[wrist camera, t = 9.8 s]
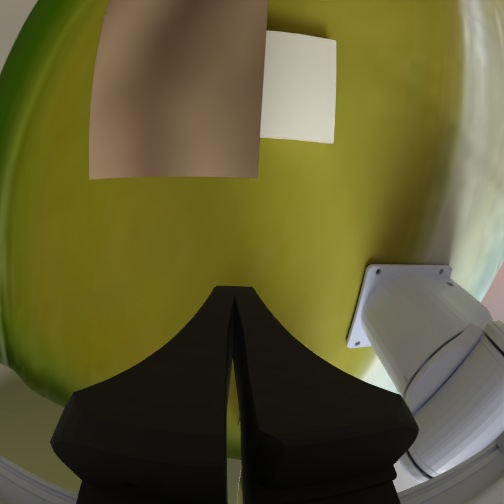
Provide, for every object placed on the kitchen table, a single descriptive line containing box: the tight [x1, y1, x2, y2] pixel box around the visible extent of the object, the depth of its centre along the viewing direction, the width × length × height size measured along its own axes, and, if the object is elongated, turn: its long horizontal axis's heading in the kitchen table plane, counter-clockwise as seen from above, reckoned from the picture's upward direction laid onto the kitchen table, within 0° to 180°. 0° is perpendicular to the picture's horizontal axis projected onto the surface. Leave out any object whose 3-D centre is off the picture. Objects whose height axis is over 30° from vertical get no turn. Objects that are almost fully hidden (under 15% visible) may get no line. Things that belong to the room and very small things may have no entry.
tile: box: [260, 30, 336, 143], centre depth 14 cm, size 12×7×2 cm, turn 87°
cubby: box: [89, 0, 268, 179], centre depth 13 cm, size 9×12×4 cm
